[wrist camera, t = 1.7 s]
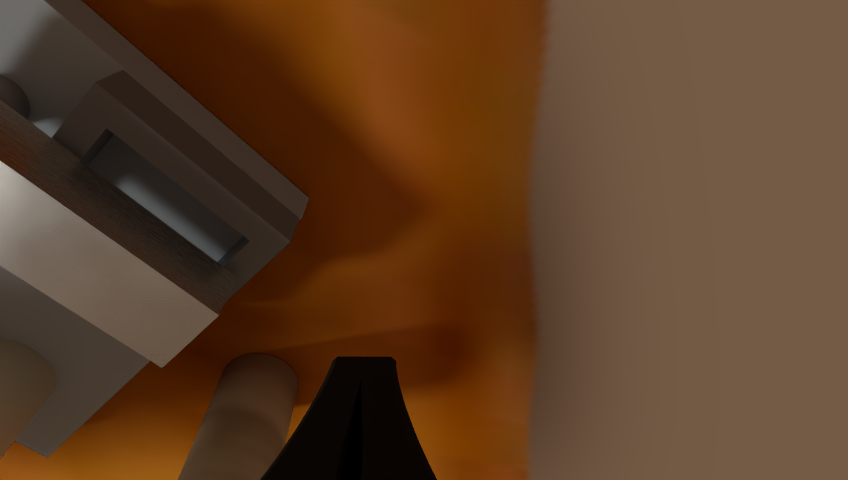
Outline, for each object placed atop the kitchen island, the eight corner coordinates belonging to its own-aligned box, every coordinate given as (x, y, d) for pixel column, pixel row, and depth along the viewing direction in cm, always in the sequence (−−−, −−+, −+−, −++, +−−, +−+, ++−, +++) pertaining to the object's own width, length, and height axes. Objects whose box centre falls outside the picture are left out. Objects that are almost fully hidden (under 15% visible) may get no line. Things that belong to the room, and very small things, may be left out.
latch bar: (-135, 110, 13) (-209, 133, 11) (-88, 34, 12) (-160, 47, 11) (185, 326, 16) (162, 368, 15) (237, 277, 15) (218, 315, 14)
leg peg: (266, 420, 23) (225, 564, 17) (206, 382, 22) (143, 523, 16) (313, 382, 22) (285, 522, 17) (254, 340, 21) (203, 475, 15)
